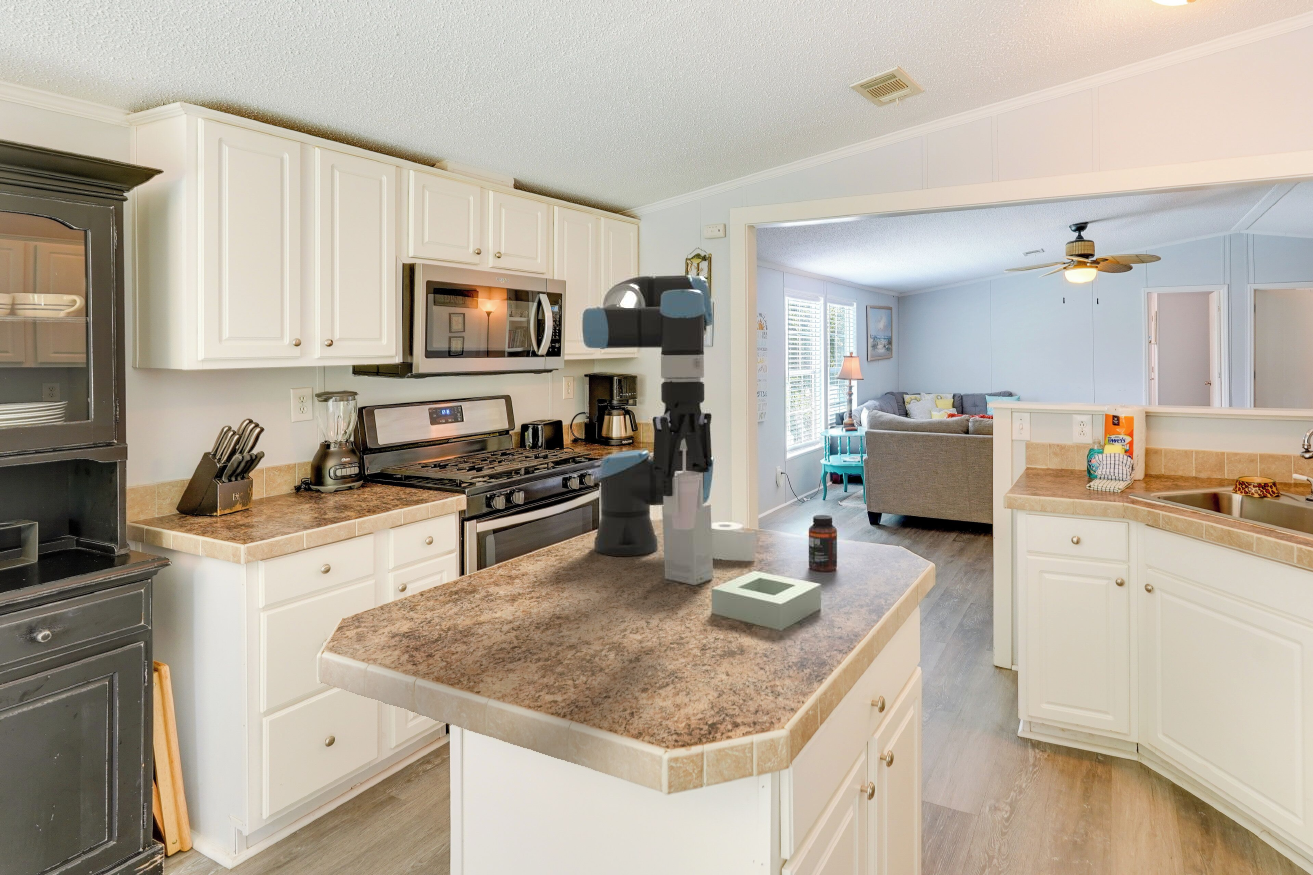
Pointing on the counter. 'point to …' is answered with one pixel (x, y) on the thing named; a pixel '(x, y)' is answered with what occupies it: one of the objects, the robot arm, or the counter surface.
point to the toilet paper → (732, 542)
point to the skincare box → (689, 549)
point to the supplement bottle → (822, 544)
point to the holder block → (766, 599)
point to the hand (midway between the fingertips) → (683, 510)
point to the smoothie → (686, 497)
